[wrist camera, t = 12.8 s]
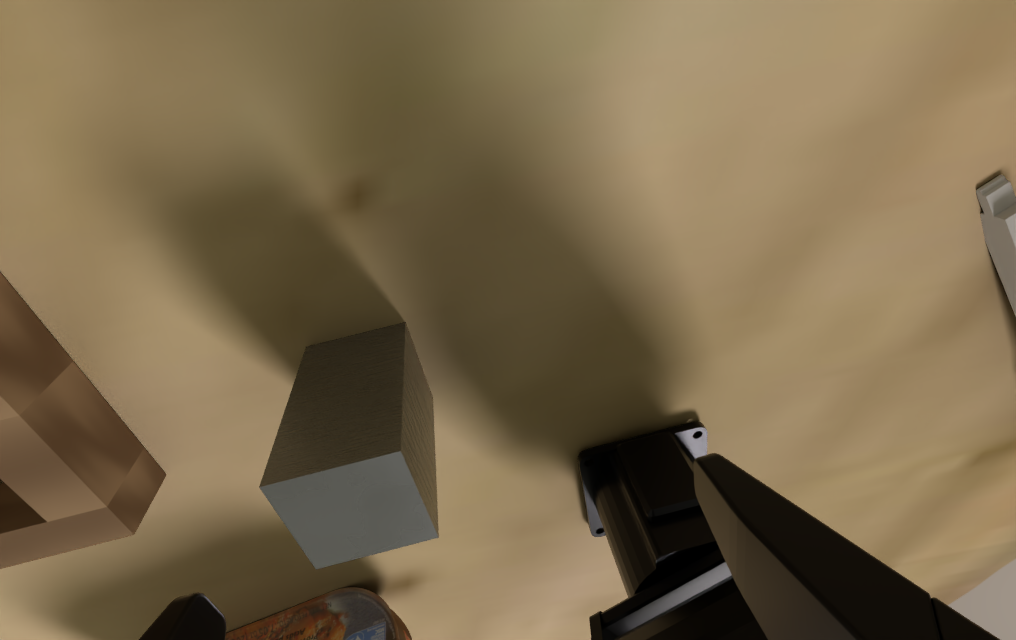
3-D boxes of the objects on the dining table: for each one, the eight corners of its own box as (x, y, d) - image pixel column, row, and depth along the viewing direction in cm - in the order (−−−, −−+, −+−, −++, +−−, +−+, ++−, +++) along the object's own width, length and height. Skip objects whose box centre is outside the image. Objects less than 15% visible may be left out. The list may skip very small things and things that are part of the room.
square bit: (432, 397, 22) (438, 537, 16) (343, 420, 22) (315, 569, 16) (405, 322, 20) (400, 450, 14) (306, 346, 20) (259, 487, 14)
